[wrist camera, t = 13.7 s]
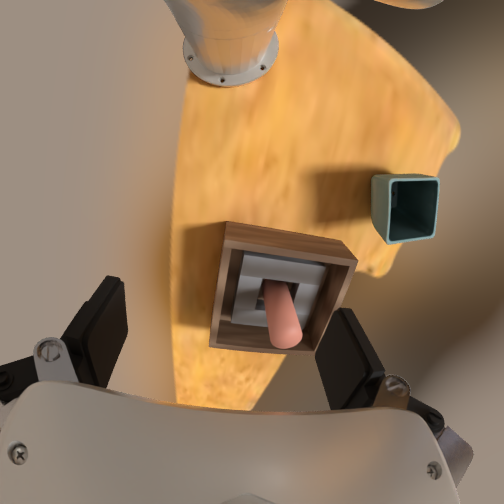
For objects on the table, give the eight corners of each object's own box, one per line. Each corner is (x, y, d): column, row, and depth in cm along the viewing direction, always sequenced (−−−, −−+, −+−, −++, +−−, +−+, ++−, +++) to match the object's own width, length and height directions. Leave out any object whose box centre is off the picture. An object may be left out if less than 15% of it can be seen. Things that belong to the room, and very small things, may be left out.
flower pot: (359, 222, 40) (386, 246, 32) (358, 167, 37) (389, 178, 28) (404, 217, 40) (435, 238, 32) (405, 165, 37) (440, 177, 28)
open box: (226, 221, 39) (224, 239, 33) (341, 240, 41) (358, 260, 35) (211, 319, 46) (208, 347, 40) (309, 329, 49) (317, 355, 42)
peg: (264, 273, 42) (274, 323, 31) (289, 276, 42) (306, 326, 31) (259, 294, 43) (266, 347, 33) (283, 297, 44) (297, 349, 33)
